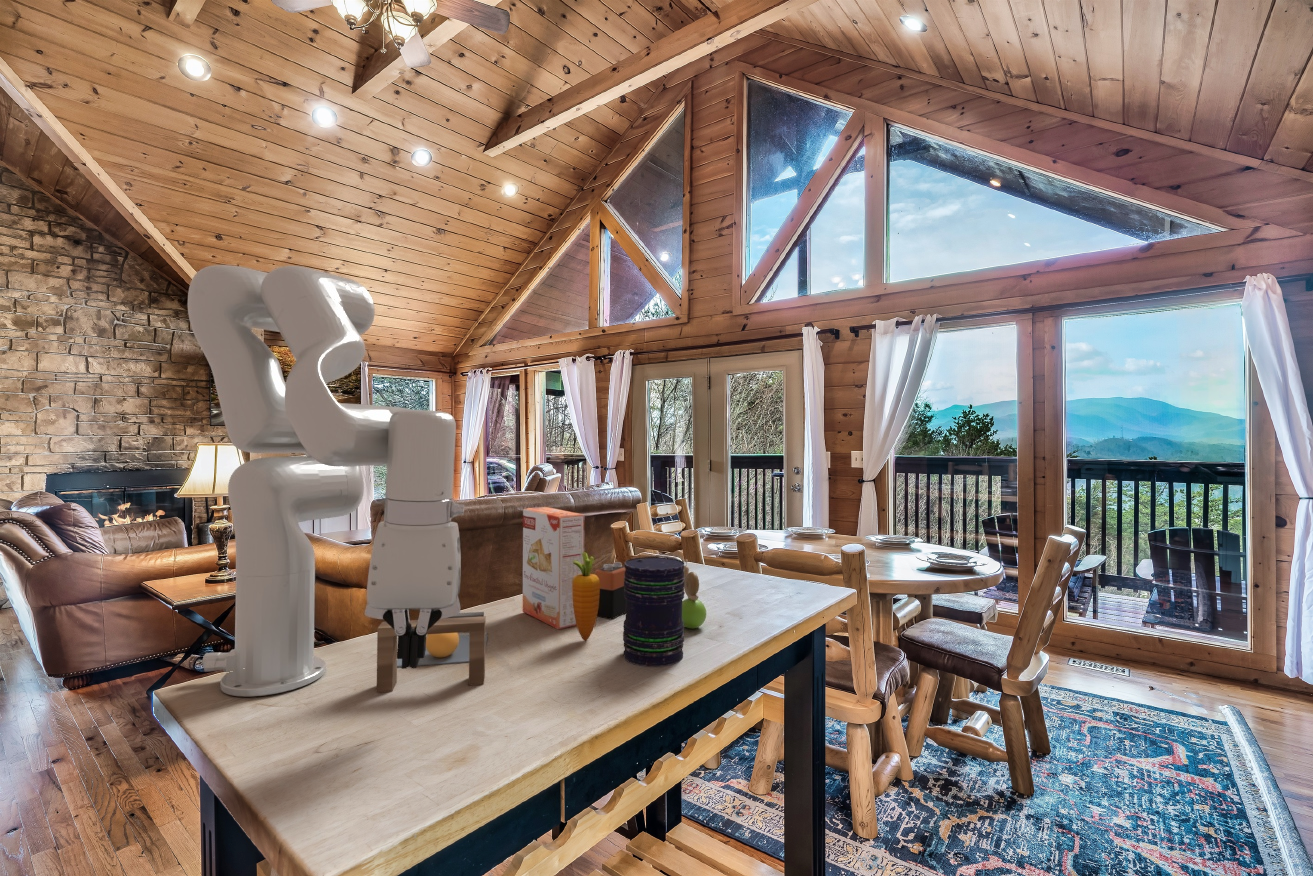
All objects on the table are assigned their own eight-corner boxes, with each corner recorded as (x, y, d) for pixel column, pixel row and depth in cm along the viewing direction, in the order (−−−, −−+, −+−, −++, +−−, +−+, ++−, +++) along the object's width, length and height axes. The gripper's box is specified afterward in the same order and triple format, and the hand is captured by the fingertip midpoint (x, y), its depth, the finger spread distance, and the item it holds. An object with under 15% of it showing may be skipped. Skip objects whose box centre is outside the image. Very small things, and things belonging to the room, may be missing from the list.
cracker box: (520, 613, 119) (521, 508, 119) (546, 607, 123) (548, 506, 123) (556, 630, 108) (558, 515, 108) (584, 624, 112) (586, 513, 112)
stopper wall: (418, 632, 106) (419, 618, 106) (420, 628, 108) (420, 615, 108) (483, 628, 109) (483, 615, 109) (483, 625, 111) (483, 611, 111)
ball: (428, 640, 98) (425, 666, 94) (425, 619, 95) (422, 646, 91) (460, 636, 99) (459, 662, 95) (458, 616, 96) (456, 642, 92)
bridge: (483, 684, 84) (484, 622, 84) (376, 692, 81) (377, 628, 81) (484, 676, 87) (485, 616, 87) (381, 683, 84) (382, 621, 84)
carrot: (594, 646, 100) (595, 557, 100) (566, 644, 101) (567, 555, 101) (603, 637, 105) (604, 551, 105) (576, 635, 106) (577, 550, 106)
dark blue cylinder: (695, 653, 98) (696, 561, 98) (662, 672, 90) (663, 572, 90) (645, 641, 103) (646, 554, 104) (610, 657, 95) (611, 563, 95)
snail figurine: (696, 620, 115) (697, 558, 116) (711, 630, 110) (712, 565, 110) (670, 623, 114) (671, 560, 114) (684, 633, 108) (684, 567, 108)
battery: (593, 616, 117) (594, 565, 117) (612, 608, 123) (613, 559, 123) (612, 620, 115) (612, 568, 115) (630, 611, 121) (631, 562, 121)
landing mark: (393, 667, 90) (394, 666, 90) (409, 639, 103) (409, 638, 103) (483, 661, 93) (483, 660, 93) (487, 634, 106) (487, 633, 106)
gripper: (485, 509, 77) (477, 650, 78) (359, 506, 74) (352, 653, 74) (481, 519, 70) (473, 675, 70) (341, 516, 67) (333, 679, 67)
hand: (410, 663), depth 72 cm, fingers closed
